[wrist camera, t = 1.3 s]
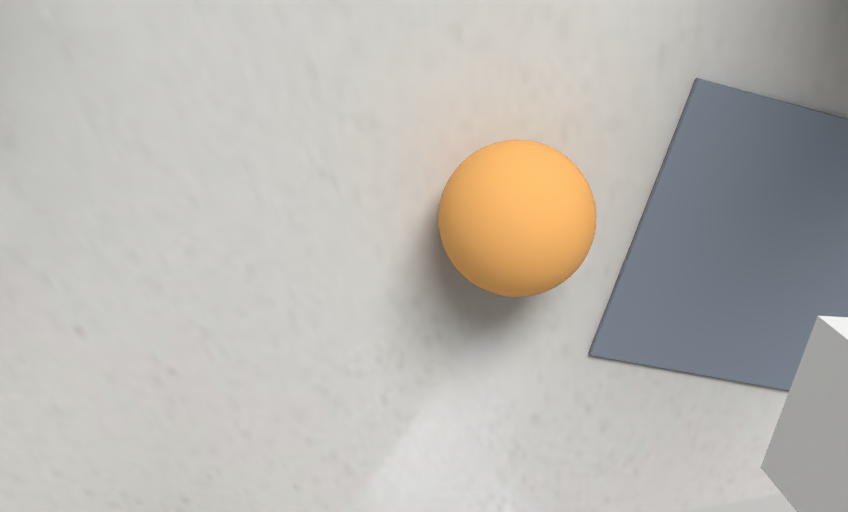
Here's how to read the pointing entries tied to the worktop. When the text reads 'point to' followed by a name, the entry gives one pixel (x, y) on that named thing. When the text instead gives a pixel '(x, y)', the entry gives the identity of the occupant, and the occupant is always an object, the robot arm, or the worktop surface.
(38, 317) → the worktop surface
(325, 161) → the worktop surface
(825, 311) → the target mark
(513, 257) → the ball
